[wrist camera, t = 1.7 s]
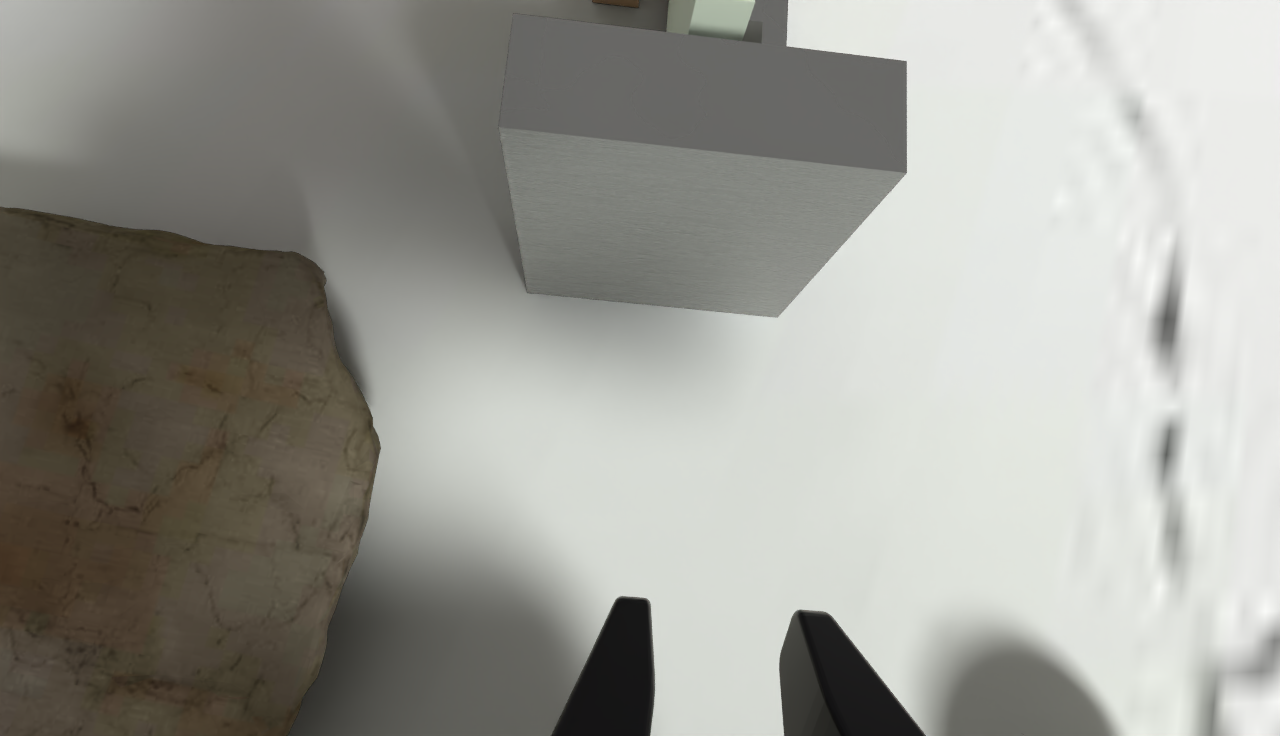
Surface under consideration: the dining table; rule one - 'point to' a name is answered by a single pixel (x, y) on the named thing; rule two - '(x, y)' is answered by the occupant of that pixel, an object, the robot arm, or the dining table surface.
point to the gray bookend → (692, 160)
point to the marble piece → (168, 481)
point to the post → (619, 2)
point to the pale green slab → (714, 19)
